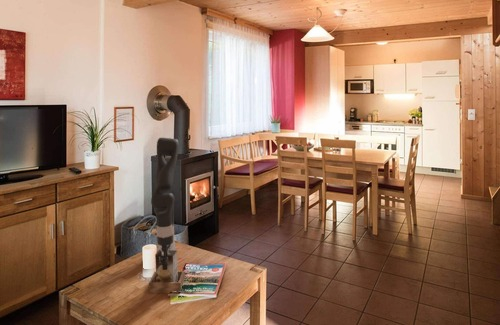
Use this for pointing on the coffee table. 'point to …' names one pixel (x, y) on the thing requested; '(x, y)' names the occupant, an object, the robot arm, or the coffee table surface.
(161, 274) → the coffee box
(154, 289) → the walnut box
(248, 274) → the coffee table surface
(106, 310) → the coffee table surface
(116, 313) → the coffee table surface
